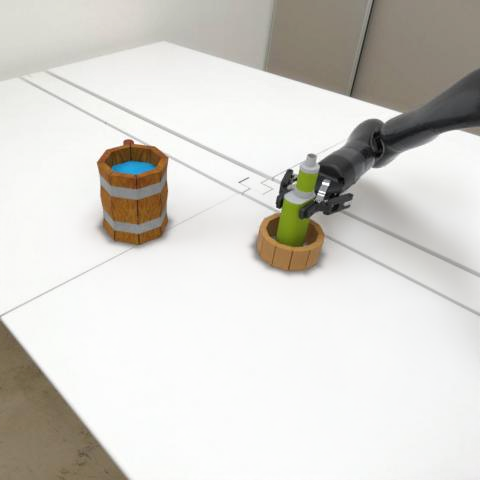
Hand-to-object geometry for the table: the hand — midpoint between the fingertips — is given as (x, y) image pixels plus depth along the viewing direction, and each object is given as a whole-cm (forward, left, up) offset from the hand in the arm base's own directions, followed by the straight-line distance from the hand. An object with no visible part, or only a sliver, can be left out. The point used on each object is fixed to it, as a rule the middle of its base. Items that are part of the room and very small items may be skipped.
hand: (290, 209), depth 79 cm
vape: (-1, -3, -11) cm, 12 cm away
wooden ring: (-1, -3, -11) cm, 11 cm away
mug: (+31, 0, -11) cm, 33 cm away
